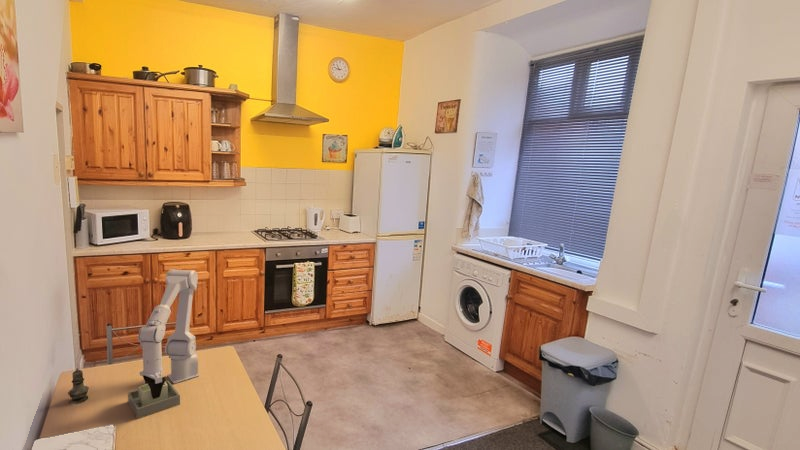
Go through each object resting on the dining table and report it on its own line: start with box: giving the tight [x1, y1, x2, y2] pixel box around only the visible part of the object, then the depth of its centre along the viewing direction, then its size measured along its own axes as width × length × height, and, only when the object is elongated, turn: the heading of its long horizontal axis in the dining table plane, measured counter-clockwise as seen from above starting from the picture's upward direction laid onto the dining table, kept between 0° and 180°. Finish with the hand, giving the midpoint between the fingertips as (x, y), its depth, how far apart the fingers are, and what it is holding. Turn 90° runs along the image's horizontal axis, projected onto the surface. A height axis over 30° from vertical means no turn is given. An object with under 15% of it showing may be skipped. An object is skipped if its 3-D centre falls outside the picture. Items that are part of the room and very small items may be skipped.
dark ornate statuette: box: [67, 367, 90, 405], centre depth 144 cm, size 6×6×12 cm
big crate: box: [127, 380, 181, 420], centre depth 144 cm, size 13×13×4 cm
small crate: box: [137, 382, 168, 407], centre depth 144 cm, size 8×5×6 cm, turn 135°
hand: (153, 393), depth 144 cm, fingers open, 6 cm apart
